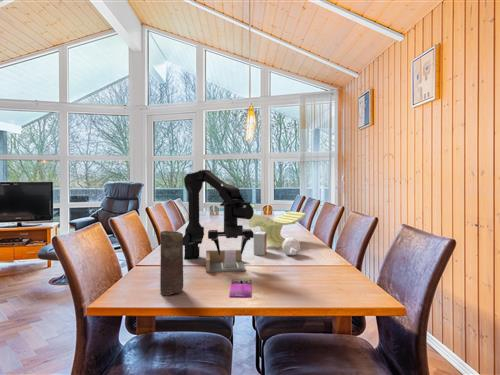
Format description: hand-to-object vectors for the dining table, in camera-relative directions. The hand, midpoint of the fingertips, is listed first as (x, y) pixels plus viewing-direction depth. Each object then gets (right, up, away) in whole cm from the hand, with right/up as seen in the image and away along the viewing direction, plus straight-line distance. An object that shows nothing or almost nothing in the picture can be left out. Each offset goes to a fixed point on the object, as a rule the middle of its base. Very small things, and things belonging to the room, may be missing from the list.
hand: (230, 254), depth 123 cm
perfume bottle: (+28, -6, +22) cm, 36 cm away
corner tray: (-3, -6, +3) cm, 7 cm away
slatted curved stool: (+24, -5, +49) cm, 55 cm away
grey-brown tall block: (-18, -7, -26) cm, 32 cm away
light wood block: (-1, -5, +3) cm, 6 cm away
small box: (+13, -6, +26) cm, 30 cm away
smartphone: (+5, -7, -23) cm, 24 cm away
